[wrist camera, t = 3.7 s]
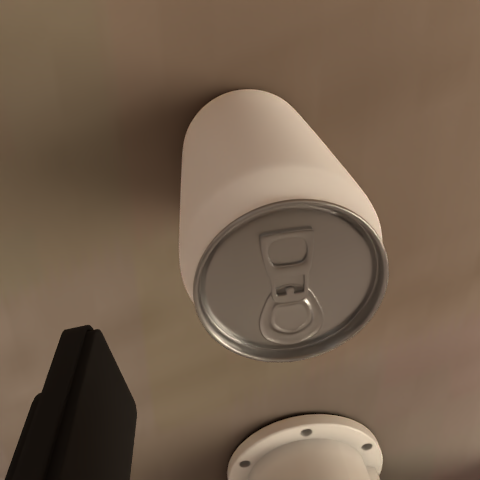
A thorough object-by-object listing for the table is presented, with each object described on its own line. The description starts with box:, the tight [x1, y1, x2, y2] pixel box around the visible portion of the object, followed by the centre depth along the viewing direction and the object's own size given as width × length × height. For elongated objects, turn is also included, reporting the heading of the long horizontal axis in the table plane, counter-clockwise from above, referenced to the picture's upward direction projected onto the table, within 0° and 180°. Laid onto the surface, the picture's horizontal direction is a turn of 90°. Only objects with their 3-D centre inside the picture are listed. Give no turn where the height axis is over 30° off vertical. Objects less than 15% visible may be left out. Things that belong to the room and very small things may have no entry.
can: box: [179, 89, 389, 362], centre depth 18 cm, size 6×6×12 cm
